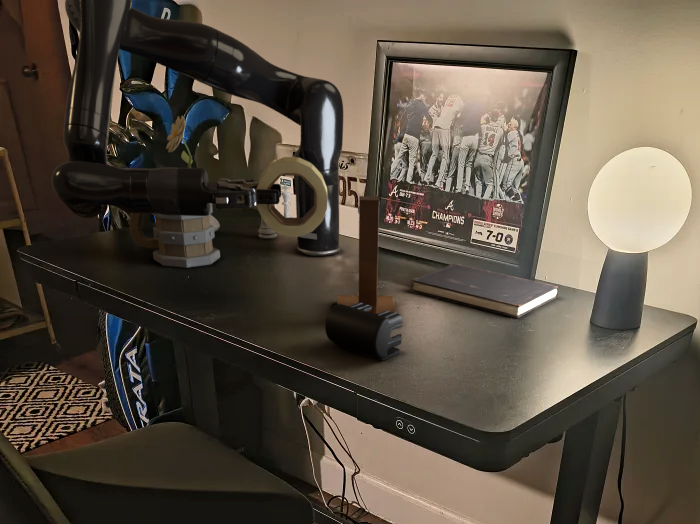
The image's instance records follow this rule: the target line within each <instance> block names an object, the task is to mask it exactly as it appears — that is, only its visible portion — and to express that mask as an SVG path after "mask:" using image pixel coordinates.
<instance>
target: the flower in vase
mask: <svg viewBox="0 0 700 524" xmlns="http://www.w3.org/2000/svg"><path fill="white" fill-rule="evenodd" d="M186 126H187V123H186V119H185V117H184V115H181V117H180V115H178V116H177V117H176V120H175V123H172V124H171V129H170V132H169V133H170V134H169V135H167V138H166V140H167V141H168V143H167V144H166V147H165V149H166V150H168V151H167V152H168V153H173V152H174V151H175V150H176V149H177V148H178V147H179V145H180V142H181V141H182V142H183V145H184V147H185V148H186V150H187V152H186V151H185V150H183V151H182V153H181V156H180V158H181V159H182V160H183V161H184V162H185V163H187V168H192V164H193V162H194V160H193V155H192V154H191V151H190V149H189V147H188V145H187V143H186V141H185V139H184V138H183V137H184V133H185V130H186ZM187 153H188V154H187ZM209 216H210V225H212V226H214V233H215V232H217V231H218V230H219V229H220V227H221V224H220V222H219V221H218V220H217V218H216V217H214V216H213V215H212V214H210V215H209Z"/></svg>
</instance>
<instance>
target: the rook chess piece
mask: <svg viewBox="0 0 700 524" xmlns="http://www.w3.org/2000/svg"><path fill="white" fill-rule="evenodd" d="M260 218H261V217H260ZM257 232H258V233H259V234H258V235H257V236H258V237H259V239H260V240H266V241H267V240H275V239H277V237H278V233H277V232H275V231H274V230H272V229H271V228H270V227H269V226H268V225H267V224H266V223H265V222H264V221H263V220H262V218H261V221H260V225H259V228H258V231H257Z"/></svg>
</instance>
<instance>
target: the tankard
mask: <svg viewBox="0 0 700 524" xmlns="http://www.w3.org/2000/svg"><path fill="white" fill-rule="evenodd" d="M212 213H213V204H212V203H210V212H209V214H208V215H207V216H176V215H163V214H155V213H150V214H151V215H153V216H154V220H155V221H154V222H155V226H153V227H152V230H153V237H148V236H146V235H145V234H144V233H143V229H142V219H143V214H144V213H130V217H129V222H128V223H129V229H130V234H131V236H132V238H133V239H134V241H135V242H136V244H137V246H138V247H141V248H145V249H148V250H154V251H153V252H152V257H153V260H154V261H156V262H157V263H158V264H160V265H162V266H163V267H169V268H170V267H171V268H172V267H173V268H174V267H175V268H181V269H182V268H184V269H188V268H189V269H190V268H196V267H203V266H210V265H213V263H215V262H216V261H217V260H220V258H221V251H220V249H218V248H216V247H214V246H213V239H215V238H216V235H215V232H214V226H212V225H210V216H209V215H212Z"/></svg>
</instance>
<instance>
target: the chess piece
mask: <svg viewBox="0 0 700 524" xmlns="http://www.w3.org/2000/svg"><path fill="white" fill-rule="evenodd" d="M283 185H284V186H281V190H284V191H281V197H282V199H283V202H281V205H282V206H283V207H284V208H283V216H284V217H290V218H291V216H290V215H291V214H290V209H289V207H290V205H291V202H290V201H289V199H290V196H291V192H289V191H288V190H290V186H287V185H288V184H287V183H284V184H283Z"/></svg>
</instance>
